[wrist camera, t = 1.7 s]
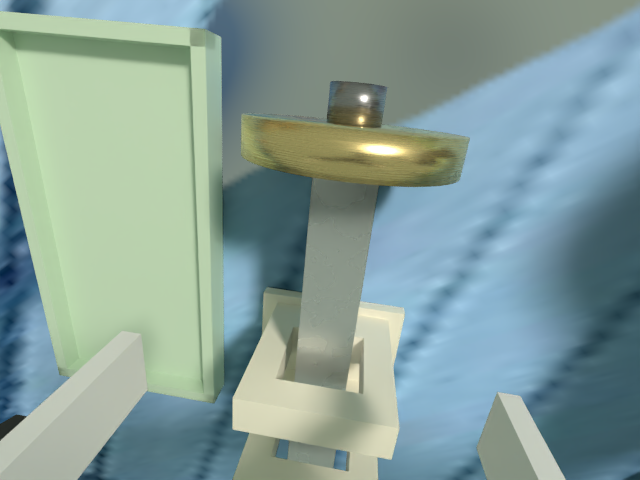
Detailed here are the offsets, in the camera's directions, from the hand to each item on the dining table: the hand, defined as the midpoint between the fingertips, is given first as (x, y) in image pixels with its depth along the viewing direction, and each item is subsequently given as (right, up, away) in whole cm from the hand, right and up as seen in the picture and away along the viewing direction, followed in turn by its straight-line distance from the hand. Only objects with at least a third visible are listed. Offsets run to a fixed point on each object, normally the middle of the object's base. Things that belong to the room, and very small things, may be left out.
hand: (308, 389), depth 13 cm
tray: (-16, +6, +17) cm, 24 cm away
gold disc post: (+2, +3, +16) cm, 16 cm away
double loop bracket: (+1, -4, +19) cm, 19 cm away
